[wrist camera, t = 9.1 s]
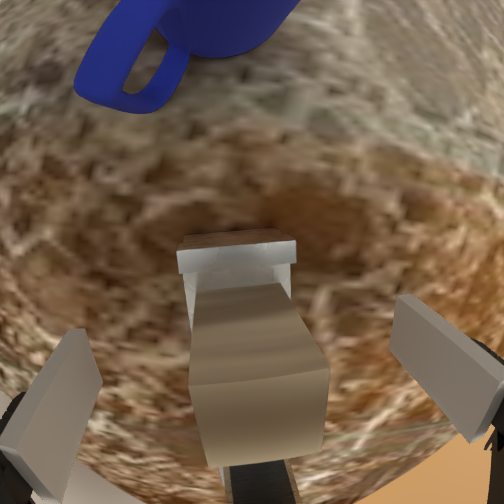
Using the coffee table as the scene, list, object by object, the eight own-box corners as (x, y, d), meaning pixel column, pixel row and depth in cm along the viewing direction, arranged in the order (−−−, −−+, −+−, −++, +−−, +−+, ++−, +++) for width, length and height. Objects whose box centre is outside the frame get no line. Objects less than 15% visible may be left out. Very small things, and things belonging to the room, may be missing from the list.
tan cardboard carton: (195, 291, 15) (188, 385, 8) (280, 282, 15) (330, 367, 8) (207, 370, 16) (211, 476, 9) (282, 362, 16) (319, 460, 10)
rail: (184, 230, 17) (153, 312, 7) (276, 223, 17) (352, 291, 8) (221, 458, 22) (231, 561, 12) (281, 451, 22) (309, 550, 13)
